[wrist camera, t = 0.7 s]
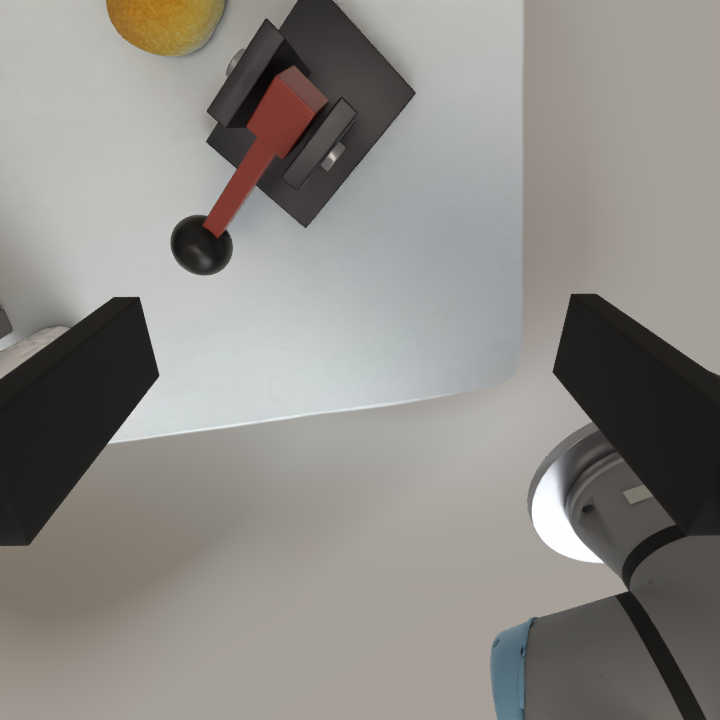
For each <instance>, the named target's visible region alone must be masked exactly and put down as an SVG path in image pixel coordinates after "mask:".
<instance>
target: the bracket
mask: <svg viewBox="0 0 720 720" xmlns="http://www.w3.org/2000/svg"><path fill="white" fill-rule="evenodd" d="M293 65H294V66H295V67H296V68H297V69H298V70H299V71H300V72H301V73H302V74H303V75H304V76H305V77H306V78H307V79H308V80H309V81H310V82H311V83H312V84H313V85H314V86H315V87H316V88H317V89H318V90H319V91H320V92H321V93H322V94H323V95H324V96H325V97H326V98H327V99H328V100H329V103H328V104H327V106H326V107H325V108H324V110H323V111H322V113H321V114H320V115H319V117H318V118H317V120H316V121H315V123H314V124H313V125H312V127H311V128H310V130H309V131H308V132H307V134H306V135H305V137H304V138H303V139H302V141H301V142H300V144H299V145H298V146H297V147H296V148H295V149H294V150H293V151H292V152H291V153H290V154H289V155H288V156H287V157H286V158H285V159H284V160H282V159H281V158H280V157H279V156H278V155H276V156H275V158H274V159H273V161H272V162H271V164H270V165H269V167H268V168H267V169H266V171H265V172H264V174H263V175H262V177H261V178H260V180H259V181H258V183H257V184H256V186H257V187H259V188H260V189H261V190H262V191H263V192H264V193H265V194H267V195H268V196H269V197H270V198H271V199H272V200H274V201H275V202H276V203H277V204H278V205H279V206H280V207H282V208H283V209H284V210H285V211H286V212H287V213H289V214H290V215H291V216H292V217H293V218H294V219H295V220H297V221H298V222H299V223H300V224H301V225H302V226H304V227H305V228H307V226H308V225H309V224H310V223H311V221H312V220H313V219H314V218H315V217H316V215H317V214H318V213H319V212H320V210H321V209H322V208H323V207H324V205H325V204H326V203H327V202H328V201H329V199H330V198H331V197H332V196H333V194H334V193H335V192H336V191H337V190H338V188H339V187H340V186H341V185H342V183H343V182H344V181H345V180H346V178H347V177H348V176H349V175H350V174H351V172H352V171H353V170H354V169H355V167H356V166H357V165H358V164H359V163H360V161H361V160H362V159H363V158H364V156H365V155H366V154H367V153H368V151H369V150H370V149H371V148H372V147H373V145H374V144H375V143H376V142H377V140H378V139H379V138H380V137H381V136H382V134H383V133H384V132H385V131H386V129H387V128H388V127H389V126H390V124H391V123H392V122H393V121H394V120H395V118H396V117H397V116H398V115H399V113H400V112H401V111H402V110H403V109H404V107H405V106H406V105H407V104H408V102H409V101H410V100H411V99H412V97H413V96H414V95H415V91H414V90H413V89H412V88H411V87H410V86H409V85H408V84H407V83H406V81H405V80H404V79H403V78H402V77H401V76H400V75H399V74H398V73H397V71H396V70H395V69H394V68H393V67H392V66H391V65H390V64H389V63H388V61H387V60H386V59H385V58H384V57H383V56H382V55H381V54H380V53H379V51H378V50H377V49H376V48H375V47H374V46H373V45H372V44H371V43H370V41H369V40H368V39H367V38H366V37H365V36H364V35H363V34H362V33H361V31H360V30H359V29H358V28H357V27H356V26H355V25H354V24H353V23H352V22H351V20H350V19H349V18H348V17H347V16H346V15H345V14H344V13H343V12H342V10H341V9H340V8H339V7H338V6H337V5H336V4H335V3H334V2H333V0H298V1H297V3H296V4H295V6H294V7H293V9H292V11H291V12H290V14H289V15H288V17H287V18H286V20H285V21H284V23H283V24H282V26H281V27H280V29H279V30H278V29H277V28H276V27H275V26H274V25H273V24H272V23H271V22H270V21H269V20H268V19H265V20H264V22H263V23H262V25H261V27H260V28H259V30H258V31H257V33H256V34H255V36H254V38H253V39H252V41H251V42H250V44H249V45H248V47H247V49H246V50H245V49H241V50H240V51H239V52H238V53H237V54H236V55H235V56H234V57H233V59H232V60H231V62H230V64H229V66H228V68H227V71H226V76H227V77H228V78H227V80H226V82H225V83H224V85H223V86H222V88H221V89H220V91H219V93H218V94H217V96H216V97H215V99H214V100H213V102H212V104H211V105H210V107H209V108H208V110H207V112H208V113H209V114H210V115H211V116H212V117H213V118H214V119H215V120H216V121H218V124H217V125H216V127H215V128H214V130H213V131H212V133H211V134H210V136H209V137H208V139H207V141H206V142H207V143H208V144H209V145H210V146H211V147H212V148H214V149H215V150H216V151H217V152H218V153H219V154H220V155H222V156H223V157H224V158H225V159H226V160H227V161H229V162H230V163H231V164H232V165H233V166H234V167H235V168H238V167H239V165H240V163H241V162H242V160H243V159H244V157H245V155H246V154H247V152H248V151H249V149H250V147H251V146H252V144H253V142H254V141H255V139H256V138H257V136H256V135H255V134H253V133H252V132H251V131H250V130H249V129H248V128H247V127H246V125H247V123H248V121H249V119H250V118H251V116H252V114H253V113H254V111H255V109H256V108H257V106H258V104H259V102H260V101H261V99H262V97H263V96H264V94H265V92H266V91H267V89H268V87H269V85H270V84H271V82H272V80H273V79H274V77H275V76H276V75H277V74H279V73H281V72H282V71H284V70H286V69H288V68H289V67H291V66H293Z"/></svg>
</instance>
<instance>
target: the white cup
mask: <svg viewBox="0 0 720 720" xmlns="http://www.w3.org/2000/svg"><path fill="white" fill-rule="evenodd" d="M69 329H70V328H67V327H62V326H56V327H51V328H46V329H42V330H40V331H39V332H37V333H35V334H33V335H32V336H30V337H28V338H27V339H24V340H22V341H19V342H17V343H15V344H13V345H11V346H9V347H8V348H6V349H4V350H2V351H0V379H1V378H2V377H4V376H5V375H6V374H8V373H9V372H11V371H12V370H13V369H15V368H16V367H18V366H19V365H20V364H22V363H23V362H25V361H26V360H27V359H29V358H30V357H31V356H33V355H34V354H36V353H37V352H38V351H40V350H41V349H43V348H44V347H45V346H47V345H48V344H50V343H51V342H52V341H54V340H55V339H57V338H58V337H59V336H61V335H62V334H63V333H65V332H66V331H68V330H69Z"/></svg>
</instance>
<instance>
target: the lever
mask: <svg viewBox="0 0 720 720" xmlns="http://www.w3.org/2000/svg"><path fill="white" fill-rule="evenodd" d="M328 103H329V100H328V99H327V98H326V97H325V96H324V95H323V94H322V93H321V92H320V91H319V90H318V89H317V88H316V87H315V86H314V85H313V84H312V83H311V82H310V81H309V80H308V79H307V78H306V77H305V76H304V75H303V74H302V73H301V72H300V71H299V70H298V69H297V68H296V67H295V66H294V65H293V66H291V67H289V68H288V69H286V70H284V71H282V72H281V73H279V74H277V75H276V76H275V77H274V79H273V80H272V82H271V84H270V85H269V87H268V89H267V91H266V92H265V94H264V96H263V97H262V99H261V101H260V102H259V104H258V106H257V108H256V109H255V111H254V113H253V114H252V116H251V118H250V119H249V121H248V123H247V125H246V127H247V128H248V129H249V130H250V131H251V132H252V133H253V134H255V135H256V136H257V138H256V139H255V141H254V142H253V144H252V146H251V147H250V149H249V151H248V152H247V154H246V155H245V157H244V159H243V160H242V162H241V163H240V165H239V167H238V168H237V170H236V172H235V173H234V175H233V176H232V178H231V180H230V181H229V183H228V184H227V186H226V188H225V189H224V191H223V193H222V194H221V196H220V197H219V199H218V201H217V202H216V204H215V205H214V207H213V209H212V210H211V212H210V213H209V215H208V216H205V215H193V216H189V217H187V218H185V219H183V220H182V221H180V222H179V223H178V224H177V225H176V227H175V228H174V230H173V232H172V235H171V250H172V253H173V256H174V258H175V259H176V261H177V262H178V263H179V265H180V266H182V267H183V268H184V269H185V270H187V271H189V272H191V273H193V274H197V275H212V274H215V273H217V272H219V271H221V270H222V269H223V268H225V266H226V265H227V264H228V263H229V261H230V259H231V256H232V252H233V244H232V239H231V236H230V234H229V232H228V231H227V227H228V226H229V224H230V223H231V221H232V220H233V218H234V217H235V215H236V214H237V212H238V211H239V209H240V208H241V206H242V205H243V203H244V202H245V200H246V199H247V198H248V196H249V195H250V193H251V192H252V190H253V189H254V187H255V186H256V184H257V183H258V181H259V180H260V178H261V177H262V175H263V174H264V172H265V171H266V169H267V168H268V167H269V165H270V164H271V162H272V161H273V159H274V158H275V156H276V155H278V156H279V157H280V158H281V159H282V160H284V159H285V158H286V157H287V156H288V155H289V154H290V153H291V152H292V151H293V150H294V149H295V148H296V147H297V146H298V145H299V144H300V142H301V141H302V139H303V138H304V137H305V135H306V134H307V132H308V131H309V130H310V128H311V127H312V125H313V124H314V123H315V121H316V120H317V118H318V117H319V115H320V114H321V113H322V111H323V110H324V108H325V107H326V106H327V104H328Z"/></svg>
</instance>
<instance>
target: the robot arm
mask: <svg viewBox="0 0 720 720" xmlns="http://www.w3.org/2000/svg"><path fill="white" fill-rule="evenodd" d="M553 373H554V374H555V376H556V377H557V378H558V379H559V381H560V382H561V383H562V384H563V385H564V387H565V388H566V389H567V390H568V392H569V393H570V394H571V395H572V396H573V398H574V399H575V400H576V402H577V403H578V404H579V405H580V406H581V408H582V409H583V410H584V411H585V413H586V414H587V415H588V416H589V418H590V419H591V420H592V421H593V422H594V424H595V425H596V426H597V427H598V429H599V430H600V431H601V432H602V434H603V435H604V436H605V437H606V438H607V440H608V441H609V442H610V443H611V445H612V446H613V447H614V448H615V449H616V451H617V452H614V453H612V454H610V455H608V456H606V457H604V458H602V459H601V460H599V461H598V462H596V463H594V464H593V465H592V466H591V467H589V468H588V469H587V470H586V471H585V472H584V473H583V474H582V475H581V476H580V477H579V478H578V479H577V480H576V482H575V483H574V484H573V486H572V488H571V490H570V491H569V494H568V496H567V500H566V516H567V519H568V521H569V523H570V525H571V527H572V528H573V530H574V532H575V534H576V535H577V537H578V538H579V539H580V540H581V541H582V542H583V543H584V544H585V545H586V546H587V547H588V548H589V549H590V550H591V551H592V552H593V553H594V554H595V555H596V556H598V557H599V558H600V559H601V560H602V561H603V562H604V563H605V564H606V565H607V566H608V567H609V568H611V569H612V570H613V571H614V572H615V573H616V574H617V575H618V576H619V577H620V578H621V579H622V581H623V582H624V584H625V586H626V587H627V589H628V592H625V593H621V594H618V595H615V596H611V597H607V598H604V599H601V600H597V601H594V602H591V603H588V604H584V605H581V606H578V607H575V608H572V609H568V610H565V611H561V612H558V613H554V614H551V615H547V616H543V617H540V618H538V617H534V618H530V620H529V621H527V622H525V623H523V624H520V625H518V626H515V627H512V628H509V629H507V630H504V631H502V632H501V633H499V635H498V636H497V637H496V638H495V640H494V642H493V645H492V650H491V657H490V670H491V683H492V692H493V698H494V704H495V710H496V715H497V719H498V720H720V376H719V375H717V374H715V373H712V372H710V371H708V370H706V369H705V368H703V367H702V366H700V365H699V364H697V363H696V362H694V361H693V360H692V359H690V358H689V357H687V356H686V355H684V354H683V353H681V352H680V351H679V350H677V349H676V348H674V347H673V346H671V345H670V344H668V343H667V342H665V341H664V340H663V339H661V338H660V337H658V336H657V335H655V334H654V333H652V332H651V331H649V330H648V329H647V328H645V327H643V326H642V325H641V324H639V323H638V322H636V321H635V320H634V319H632V318H631V317H629V316H628V315H626V314H625V313H623V312H622V311H620V310H619V309H618V308H616V307H615V306H613V305H612V304H610V303H609V302H607V301H606V300H604V299H603V298H602V297H600V296H599V295H597V294H571V297H570V302H569V306H568V310H567V314H566V318H565V323H564V327H563V331H562V335H561V339H560V343H559V347H558V352H557V356H556V360H555V364H554V369H553ZM158 377H159V372H158V368H157V364H156V360H155V356H154V352H153V348H152V345H151V341H150V337H149V333H148V329H147V325H146V321H145V317H144V313H143V309H142V305H141V301H140V297H113V298H112V299H111V300H109V301H108V302H107V303H105V304H104V305H102V306H101V307H100V308H98V309H97V310H95V311H94V312H93V313H91V314H90V315H88V316H87V317H86V318H84V319H83V320H82V321H80V322H79V323H77V324H76V325H75V326H73V327H72V328H70V329H69V330H68V331H66V332H65V333H63V334H62V335H61V336H59V337H58V338H57V339H55V340H54V341H52V342H51V343H50V344H48V345H47V346H45V347H44V348H43V349H41V350H40V351H38V352H37V353H36V354H34V355H33V356H31V357H30V358H29V359H27V360H26V361H25V362H23V363H22V364H20V365H19V366H18V367H16V368H15V369H13V370H12V371H11V372H9V373H8V374H6V375H5V376H4V377H2V378H1V379H0V546H23V545H24V546H27V545H29V544H30V543H31V542H32V541H33V539H34V538H35V537H36V536H37V534H38V533H39V532H40V530H41V529H42V527H43V526H44V525H45V524H46V523H47V521H48V520H49V519H50V517H51V516H52V515H53V513H54V512H55V511H56V509H57V508H58V507H59V505H60V504H61V503H62V502H63V500H64V499H65V498H66V497H67V495H68V494H69V493H70V491H71V490H72V489H73V487H74V486H75V485H76V484H77V482H78V481H79V480H80V478H81V477H82V476H83V475H84V473H85V472H86V471H87V469H88V468H89V467H90V465H91V464H92V463H93V461H94V460H95V459H96V457H97V456H98V455H99V454H100V452H101V451H102V450H103V449H104V447H105V446H106V445H107V443H108V442H109V441H110V439H111V438H112V437H113V436H114V434H115V433H116V432H117V430H118V429H119V428H120V426H121V425H122V424H123V423H124V421H125V420H126V419H127V417H128V416H129V415H130V413H131V412H132V411H133V410H134V408H135V407H136V406H137V404H138V403H139V402H140V401H141V399H142V398H143V397H144V395H145V394H146V393H147V391H148V390H149V389H150V388H151V386H152V385H153V384H154V382H155V381H156V380H157V378H158Z"/></svg>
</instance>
